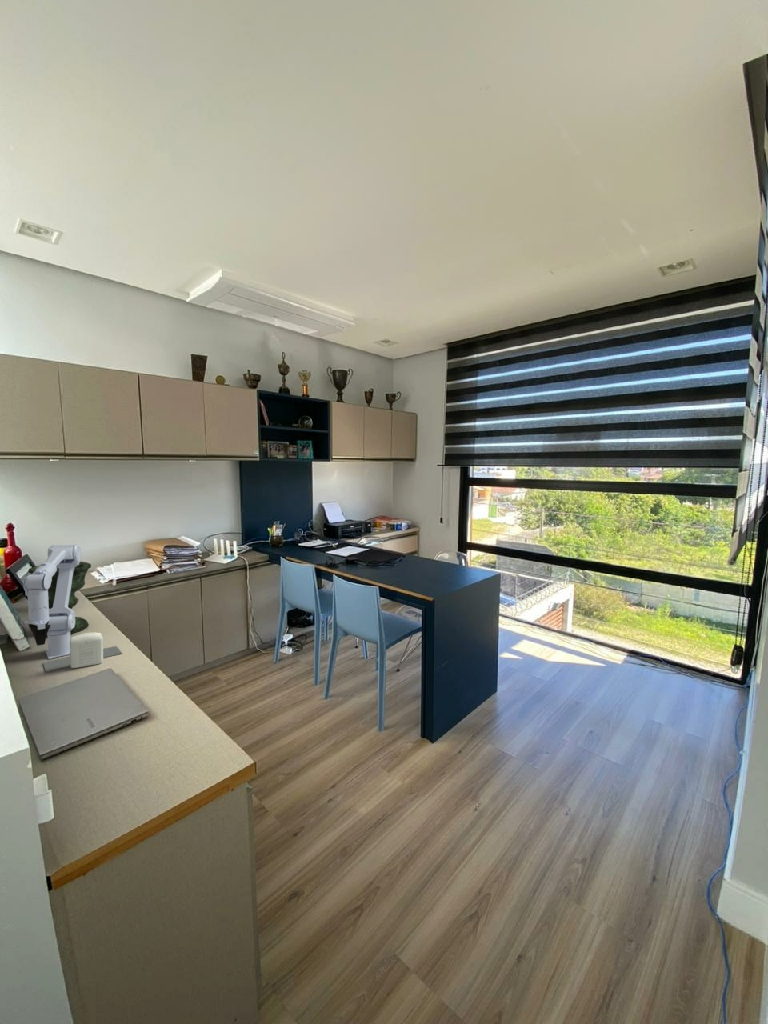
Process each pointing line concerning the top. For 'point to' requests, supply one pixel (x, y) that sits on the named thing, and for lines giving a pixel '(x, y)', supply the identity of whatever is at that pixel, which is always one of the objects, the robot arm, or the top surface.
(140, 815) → the top surface
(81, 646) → the photo printer
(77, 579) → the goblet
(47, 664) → the mat
